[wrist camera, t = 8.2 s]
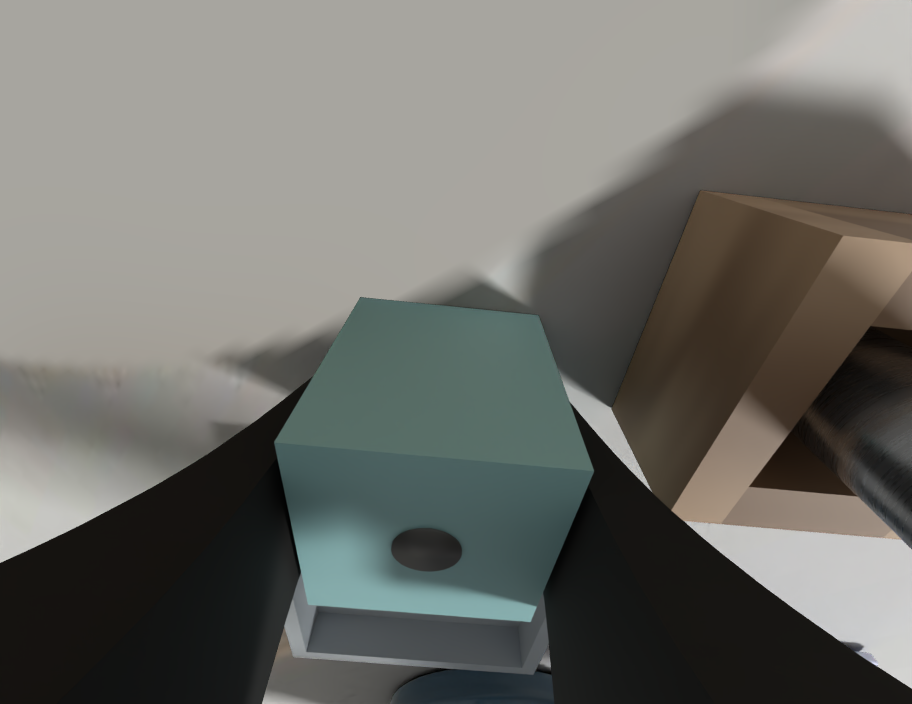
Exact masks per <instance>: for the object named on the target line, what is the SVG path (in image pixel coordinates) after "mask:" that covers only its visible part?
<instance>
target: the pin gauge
mask: <svg viewBox="0 0 912 704" xmlns="http://www.w3.org/2000/svg"><path fill="white" fill-rule="evenodd" d="M791 432H792V433H793V434H794V435H795V436H796V437H797V438H798V439H799V440H800V441H801V442H802V443H803V444H804V445H805V446H806V447H807V448H808V449H809V450H810V451H811V452H812V453H813V454H814V455H816V456H817V457H818V458H819V459H820V460H821V461H822V462H823V463H824V464H825V465H826V466H827V467H828V468H829V469H830V470H831V471H832V472H833V473H834V474H835V475H836V476H837V477H838V478H839V479H840V480H841V481H842V482H843V483H844V484H845V485H846V486H847V487H848V488H849V489H850V490H851V491H852V492H853V493H855V494H856V495H857V496H858V497H859V498H860V499H861V500H862V501H863V502H864V503H865V504H866V505H867V506H868V507H869V508H870V509H871V510H872V511H873V512H874V513H875V514H876V515H877V516H878V517H879V518H880V519H881V520H882V521H883V522H884V523H885V524H886V525H887V526H888V527H889V528H890V529H891V530H892V531H894V532H895V533H896V534H897V535H898V536H899V537H900V538H901V539H902V540H903V541H904V542H905V543H906V544H907V545H908V546H909V547H910V548H911V549H912V347H910V346H908V345H906V344H904V343H902V342H900V341H898V340H896V339H894V338H893V337H891V336H889V335H887V334H885V333H883V332H881V331H879V330H877V329H875V328H873V327H871V326H870V327H869V329H868V330H867V331H866V333H865V334H864V335H863V336H862V338H861V339H860V340H859V342H858V343H857V344H856V346H855V347H854V348H853V350H852V351H851V352H850V354H849V355H848V356H847V358H846V359H845V360H844V362H843V363H842V364H841V366H840V367H839V368H838V370H837V371H836V372H835V374H834V375H833V376H832V377H831V379H830V380H829V381H828V383H827V384H826V385H825V387H824V388H823V389H822V391H821V392H820V393H819V395H818V396H817V397H816V399H815V400H814V401H813V403H812V404H811V405H810V407H809V408H808V409H807V411H806V412H805V413H804V414H803V416H802V417H801V418H800V420H799V421H798V422H797V424H796V425H795V426H794V428H793V429H792V430H791Z"/></svg>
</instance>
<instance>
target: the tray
mask: <svg viewBox="0 0 912 704" xmlns="http://www.w3.org/2000/svg"><path fill="white" fill-rule="evenodd" d="M284 627H285V631H286V634H287V637H288V641H289V644H290V648H291V651H292V655H293V657H297V658H311V659H325V660H338V661H352V662H366V663H379V664H393V665H407V666H420V667H434V668H448V669H461V670H475V671H489V672H502V673H516V674H530V675H534V673H535V671H536V669H537V667H538V665H539V663H540V661H541V659H542V657H543V655H544V653H545V651H546V649H547V647H548V645H549V641H548V631H547V622H546V612H545V603H544V596H543V594H542V596H541V598H540V601H539V603H538V605H537V608H536V610H535V612H534V615H533V617H532V620H531V622H524V621H511V620H498V619H485V618H472V617H459V616H446V615H434V614H421V613H408V612H395V611H382V610H369V609H356V608H343V607H330V606H317V605H308V602H307V597H306V593H305V588H304V583H303V578H302V573H301V574H300V577H299V580H298V583H297V586H296V589H295V593H294V596H293V599H292V602H291V606H290V609H289V612H288V615H287V619H286V622H285V625H284Z"/></svg>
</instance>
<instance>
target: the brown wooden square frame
mask: <svg viewBox="0 0 912 704" xmlns="http://www.w3.org/2000/svg"><path fill="white" fill-rule="evenodd" d="M870 326H871V327H873V328H875V329H877V330H879V331H881V332H883V333H885V334H887V335H889V336H891V337H893V338H894V339H896V340H898V341H900V342H902V343H904V344H906V345H908V346H910V347H912V214H905V213H896V212H887V211H879V210H870V209H861V208H852V207H843V206H834V205H825V204H817V203H808V202H799V201H790V200H781V199H772V198H763V197H755V196H746V195H737V194H728V193H719V192H710V191H701V190H700V192H699V195H698V197H697V200H696V202H695V205H694V207H693V210H692V212H691V215H690V217H689V220H688V222H687V224H686V227H685V229H684V232H683V234H682V237H681V239H680V242H679V244H678V247H677V249H676V252H675V254H674V256H673V259H672V261H671V264H670V266H669V269H668V271H667V274H666V276H665V279H664V281H663V284H662V286H661V288H660V291H659V293H658V296H657V298H656V301H655V303H654V306H653V308H652V311H651V313H650V316H649V318H648V320H647V323H646V325H645V328H644V330H643V333H642V335H641V338H640V340H639V343H638V345H637V348H636V350H635V352H634V355H633V357H632V360H631V362H630V365H629V367H628V370H627V372H626V375H625V377H624V380H623V382H622V384H621V387H620V389H619V392H618V394H617V397H616V399H615V402H614V404H613V407H612V411H613V413H614V415H615V417H616V419H617V421H618V423H619V425H620V427H621V429H622V431H623V433H624V435H625V437H626V439H627V442H628V444H629V446H630V448H631V450H632V452H633V454H634V456H635V458H636V460H637V462H638V464H639V466H640V468H641V470H642V472H643V474H644V476H645V478H646V480H647V482H648V484H649V486H650V488H651V490H652V492H653V494H654V495H655V496H656V497H657V498H659V499H660V500H661V501H662V502H663V503H664V504H665V505H666V506H667V507H668V508H669V509H670V510H671V511H673V512H674V513H675V514H676V515H677V516H678V517H679V518H681V519H682V520H683V521H692V522H704V523H715V524H727V525H738V526H750V527H761V528H773V529H785V530H796V531H808V532H819V533H831V534H842V535H854V536H865V537H877V538H889V539H900V540H902V539H901V538H900V537H899V536H898V535H897V534H896V533H895V532H894V531H892V530H891V529H890V528H889V527H888V526H887V525H886V524H885V523H884V522H883V521H882V520H881V519H880V518H879V517H878V516H877V515H876V514H875V513H874V512H873V511H872V510H871V509H870V508H869V507H868V506H867V505H866V504H865V503H864V502H863V501H862V500H861V499H860V498H859V497H858V496H857V495H856V494H855V493H853V492H852V491H851V490H850V489H849V488H848V487H847V486H846V485H845V484H844V483H843V482H842V481H841V480H840V479H839V478H838V477H837V476H836V475H835V474H834V473H833V472H832V471H831V470H830V469H829V468H828V467H827V466H826V465H825V464H824V463H823V462H822V461H821V460H820V459H819V458H818V457H817V456H816V455H814V454H813V453H812V452H811V451H810V450H809V449H808V448H807V447H806V446H805V445H804V444H803V443H802V442H801V441H800V440H799V439H798V438H797V437H796V436H795V435H794V434H793V433H792V432H791V430H792V429H793V428H794V426H795V425H796V424H797V422H798V421H799V420H800V418H801V417H802V416H803V414H804V413H805V412H806V411H807V409H808V408H809V407H810V405H811V404H812V403H813V401H814V400H815V399H816V397H817V396H818V395H819V393H820V392H821V391H822V389H823V388H824V387H825V385H826V384H827V383H828V381H829V380H830V379H831V377H832V376H833V375H834V374H835V372H836V371H837V370H838V368H839V367H840V366H841V364H842V363H843V362H844V360H845V359H846V358H847V356H848V355H849V354H850V352H851V351H852V350H853V348H854V347H855V346H856V344H857V343H858V342H859V340H860V339H861V338H862V336H863V335H864V334H865V333H866V331H867V330H868V329H869V327H870Z"/></svg>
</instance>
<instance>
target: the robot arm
mask: <svg viewBox="0 0 912 704" xmlns="http://www.w3.org/2000/svg"><path fill="white" fill-rule="evenodd" d="M312 378H313V377H312ZM312 378H310V379H309V380H308V381H306V382H305V383H304V384H303V385H301V386H300V387H299V388H298V389H296V390H295V391H294V392H293V393H291V394H290V395H289V396H288V397H286V398H285V399H284V400H283V401H281V402H280V403H279V404H277V405H276V406H275V407H273V408H272V409H271V410H269V411H268V412H267V413H266V414H264V415H263V416H262V417H260V418H259V419H258V420H256V421H255V422H254V423H252V424H251V425H249V426H248V427H246V428H245V429H244V430H242V431H241V432H239V433H238V434H236V435H235V436H234V437H232V438H231V439H229V440H228V441H226V442H225V443H223V444H222V445H221V446H219V447H218V448H216V449H215V450H213V451H212V452H210V453H209V454H207V455H206V456H204V457H202V458H201V459H199V460H198V461H196V462H194V463H193V464H191V465H190V466H188V467H186V468H185V469H183V470H181V471H179V472H178V473H176V474H174V475H173V476H171V477H169V478H168V479H166V480H164V481H163V482H161V483H159V484H157V485H156V486H154V487H152V488H150V489H148V490H147V491H145V492H143V493H141V494H139V495H137V496H135V497H133V498H132V499H130V500H128V501H126V502H124V503H122V504H120V505H118V506H116V507H114V508H112V509H111V510H109V511H107V512H105V513H103V514H101V515H99V516H97V517H95V518H93V519H91V520H90V521H88V522H86V523H84V524H82V525H80V526H78V527H76V528H74V529H72V530H70V531H68V532H66V533H64V534H62V535H59V536H57V537H55V538H53V539H51V540H49V541H47V542H45V543H43V544H41V545H38V546H36V547H34V548H32V549H30V550H28V551H26V552H24V553H21V554H19V555H17V556H15V557H12V558H10V559H8V560H6V561H4V562H1V563H0V704H262V701H263V697H264V694H265V690H266V687H267V683H268V680H269V676H270V673H271V669H272V666H273V662H274V659H275V656H276V652H277V649H278V645H279V642H280V639H281V635H282V632H283V628H284V625H285V622H286V619H287V615H288V612H289V609H290V606H291V602H292V599H293V596H294V593H295V589H296V586H297V583H298V580H299V577H300V574H301V569H300V564H299V559H298V554H297V549H296V545H295V540H294V535H293V530H292V526H291V521H290V516H289V511H288V506H287V502H286V497H285V492H284V487H283V483H282V478H281V473H280V468H279V463H278V459H277V454H276V449H275V444H274V442H275V440H276V438H277V437H278V435H279V433H280V432H281V430H282V428H283V427H284V425H285V423H286V422H287V420H288V418H289V417H290V415H291V413H292V412H293V410H294V408H295V406H296V405H297V403H298V401H299V400H300V398H301V396H302V395H303V393H304V391H305V390H306V388H307V386H308V385H309V383H310V381H311V380H312ZM570 405H571V408H572V410H573V413H574V416H575V419H576V422H577V424H578V427H579V430H580V433H581V436H582V438H583V441H584V444H585V447H586V450H587V453H588V455H589V458H590V461H591V464H592V467H593V469H594V473H593V475H592V477H591V480H590V482H589V485H588V487H587V489H586V492H585V494H584V496H583V499H582V501H581V504H580V506H579V508H578V511H577V513H576V515H575V518H574V520H573V522H572V525H571V527H570V530H569V532H568V534H567V537H566V539H565V541H564V544H563V546H562V549H561V551H560V553H559V556H558V558H557V560H556V563H555V565H554V567H553V570H552V572H551V575H550V577H549V579H548V582H547V584H546V586H545V589H544V591H543V596H544V603H545V612H546V622H547V631H548V641H549V650H550V661H551V672H552V683H553V695H554V704H912V689H911V688H910V687H908V686H907V685H905V684H903V683H902V682H900V681H899V680H897V679H896V678H894V677H893V676H891V675H890V674H888V673H887V672H885V671H883V670H882V669H880V668H879V667H877V666H878V662H877V660H876V659H875V658H874V656H873V655H872V654H870V653H866V652H855V651H853V650H852V649H850V648H849V647H847V646H846V645H844V644H843V643H841V642H840V641H839V640H837V639H836V638H834V637H833V636H832V635H830V634H829V633H827V632H826V631H824V630H823V629H822V628H820V627H819V626H817V625H816V624H814V623H813V622H812V621H810V620H809V619H807V618H806V617H805V616H803V615H802V614H800V613H799V612H797V611H796V610H795V609H793V608H792V607H791V606H789V605H788V604H787V603H785V602H784V601H782V600H781V599H780V598H778V597H777V596H776V595H774V594H773V593H772V592H770V591H769V590H768V589H766V588H765V587H764V586H762V585H761V584H760V583H758V582H757V581H756V580H755V579H753V578H752V577H751V576H749V575H748V574H747V573H746V572H744V571H743V570H742V569H741V568H739V567H738V566H737V565H735V564H734V563H733V562H732V561H730V560H729V559H728V558H727V557H725V556H724V555H723V554H721V553H720V552H719V551H718V550H717V549H715V548H714V547H713V546H712V545H711V544H709V543H708V542H707V541H706V540H705V539H703V538H702V537H701V536H700V535H699V534H697V533H696V532H695V531H694V530H693V529H692V528H691V527H690V526H688V525H687V524H686V523H685V522H684V521H683V520H682V519H681V518H679V517H678V516H677V515H676V514H675V513H674V512H673V511H671V510H670V509H669V508H668V507H667V506H666V505H665V504H664V503H663V502H662V501H661V500H660V499H659V498H657V497H656V496H655V495H654V494H653V493H652V492H651V491H650V490H649V489H648V488H647V487H646V486H645V485H644V484H643V483H642V482H641V481H640V480H639V479H638V478H637V477H636V476H635V475H634V474H633V473H632V472H631V471H630V470H629V469H628V468H627V466H626V465H625V464H624V463H623V462H622V461H621V460H620V459H619V458H618V457H617V456H616V455H615V454H614V453H613V451H612V450H611V449H610V448H609V447H608V446H607V445H606V444H605V443H604V441H603V440H602V439H601V438H600V437H599V436H598V435H597V433H596V432H595V431H594V430H593V429H592V428H591V427H590V425H589V424H588V423H587V422H586V421H585V419H584V418H583V417H582V416H581V415H580V414H579V412H578V411H577V410H576V409H575V408H574V406H573V405H572V404H571V403H570Z"/></svg>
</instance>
